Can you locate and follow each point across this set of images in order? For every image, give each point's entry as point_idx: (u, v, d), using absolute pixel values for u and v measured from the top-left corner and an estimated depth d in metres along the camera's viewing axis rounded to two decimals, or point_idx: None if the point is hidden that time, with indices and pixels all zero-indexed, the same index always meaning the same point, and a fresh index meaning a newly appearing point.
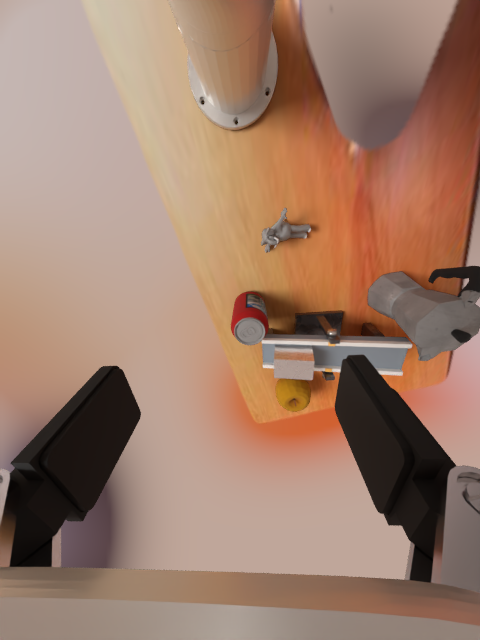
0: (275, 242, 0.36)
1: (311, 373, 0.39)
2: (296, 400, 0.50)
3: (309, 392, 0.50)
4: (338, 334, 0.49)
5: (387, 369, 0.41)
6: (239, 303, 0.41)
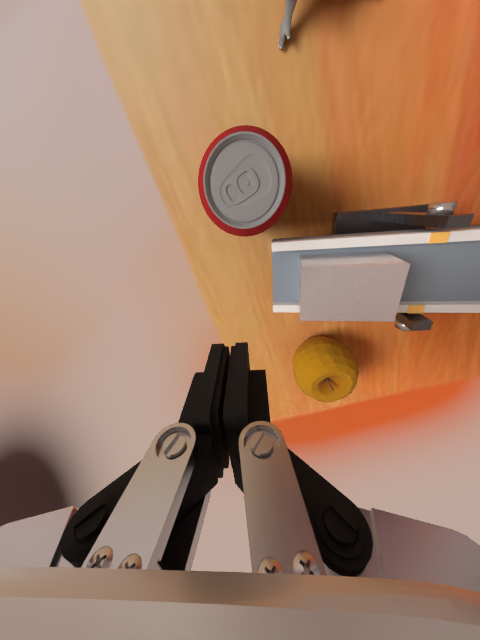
0: None
1: (394, 302, 0.16)
2: (332, 381, 0.28)
3: (356, 366, 0.27)
4: None
5: None
6: None
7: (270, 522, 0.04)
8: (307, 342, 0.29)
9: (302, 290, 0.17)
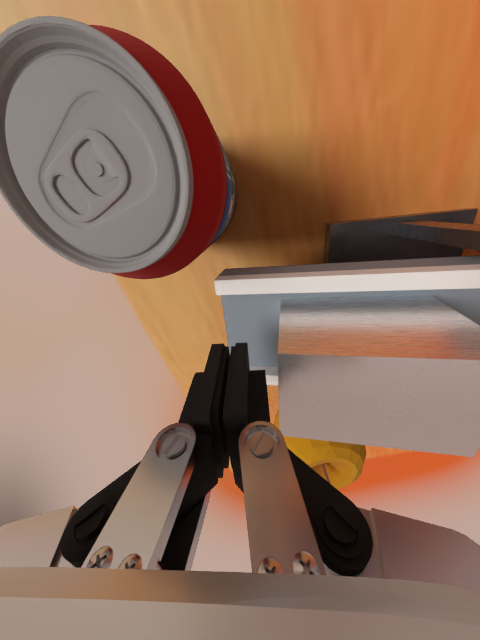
0: None
1: None
2: (328, 463, 0.19)
3: None
4: None
5: None
6: None
7: (270, 522, 0.04)
8: None
9: (281, 391, 0.08)
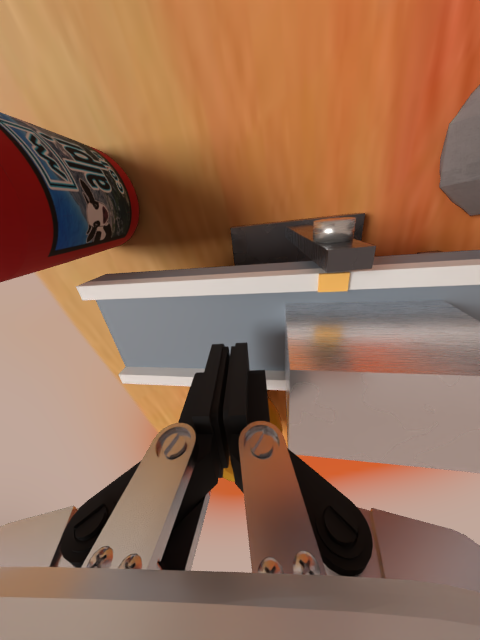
0: None
1: None
2: None
3: None
4: None
5: None
6: None
7: (270, 522, 0.04)
8: None
9: (292, 408, 0.07)
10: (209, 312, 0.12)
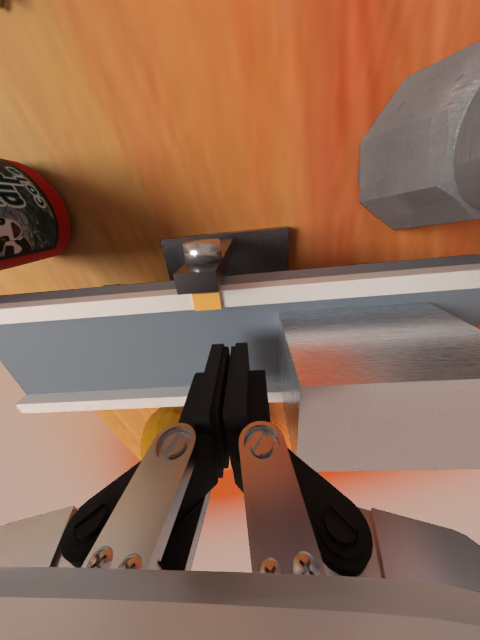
0: None
1: None
2: None
3: None
4: None
5: None
6: None
7: (270, 522, 0.04)
8: None
9: (301, 426, 0.07)
10: (103, 333, 0.11)
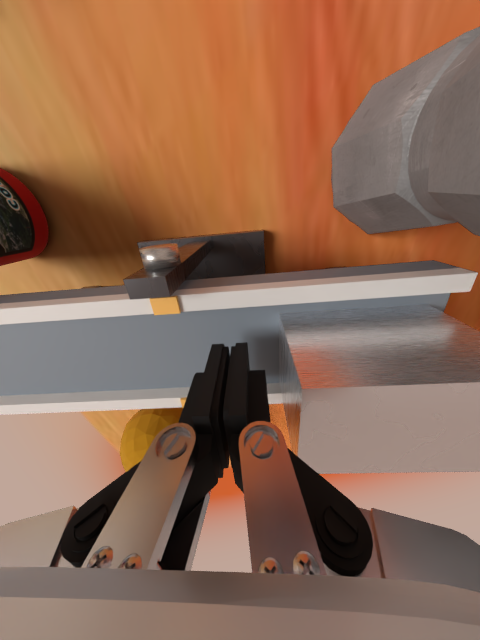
0: None
1: None
2: None
3: None
4: None
5: None
6: None
7: (270, 522, 0.04)
8: None
9: (302, 428, 0.07)
10: (69, 336, 0.12)
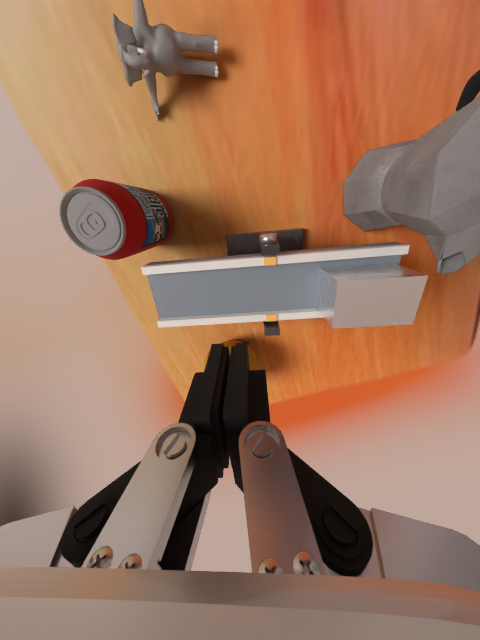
0: (140, 58, 0.18)
1: (413, 308, 0.18)
2: None
3: (253, 366, 0.31)
4: None
5: None
6: None
7: (270, 522, 0.04)
8: None
9: (336, 301, 0.18)
10: (212, 280, 0.23)
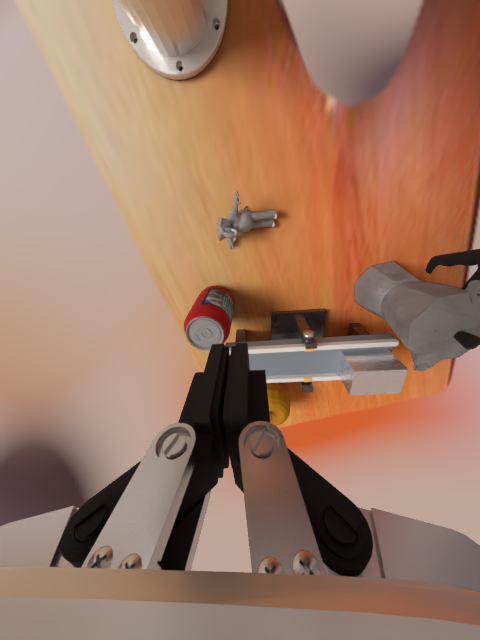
0: (233, 234, 0.30)
1: (400, 385, 0.30)
2: (273, 413, 0.43)
3: (288, 404, 0.43)
4: (321, 336, 0.42)
5: None
6: (198, 299, 0.34)
7: (270, 522, 0.04)
8: None
9: (353, 381, 0.30)
10: (268, 356, 0.35)
